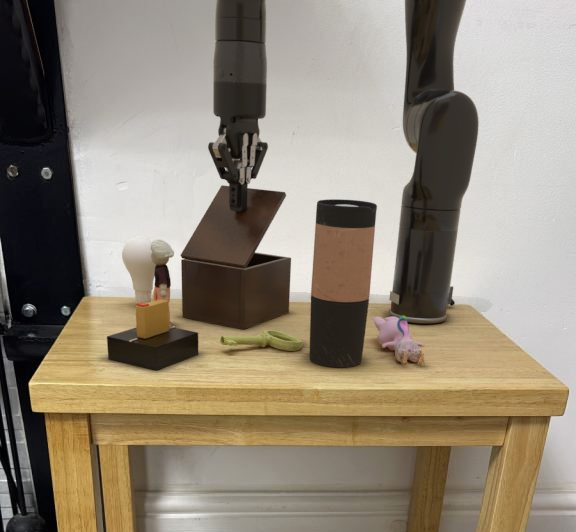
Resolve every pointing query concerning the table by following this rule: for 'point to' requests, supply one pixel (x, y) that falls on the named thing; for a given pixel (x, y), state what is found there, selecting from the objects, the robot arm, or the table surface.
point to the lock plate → (153, 348)
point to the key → (265, 340)
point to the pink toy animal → (398, 339)
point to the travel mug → (341, 281)
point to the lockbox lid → (233, 228)
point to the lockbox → (236, 291)
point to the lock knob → (152, 318)
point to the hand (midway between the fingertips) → (238, 210)
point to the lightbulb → (140, 266)
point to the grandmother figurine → (161, 271)
